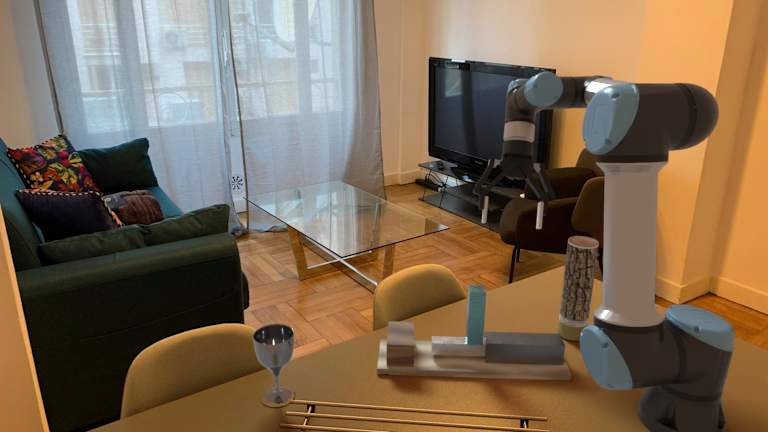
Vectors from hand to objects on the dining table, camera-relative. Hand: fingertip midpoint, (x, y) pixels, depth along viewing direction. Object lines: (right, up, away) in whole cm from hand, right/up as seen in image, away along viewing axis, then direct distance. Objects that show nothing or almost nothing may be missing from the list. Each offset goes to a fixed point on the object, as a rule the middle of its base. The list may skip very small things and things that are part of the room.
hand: (511, 225), depth 142 cm
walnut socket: (-28, -29, -11) cm, 42 cm away
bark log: (+15, -27, 0) cm, 31 cm away
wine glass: (-54, -35, -23) cm, 68 cm away
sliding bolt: (-7, -29, -12) cm, 32 cm away
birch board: (-12, -31, -11) cm, 35 cm away
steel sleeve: (0, -30, -12) cm, 32 cm away
